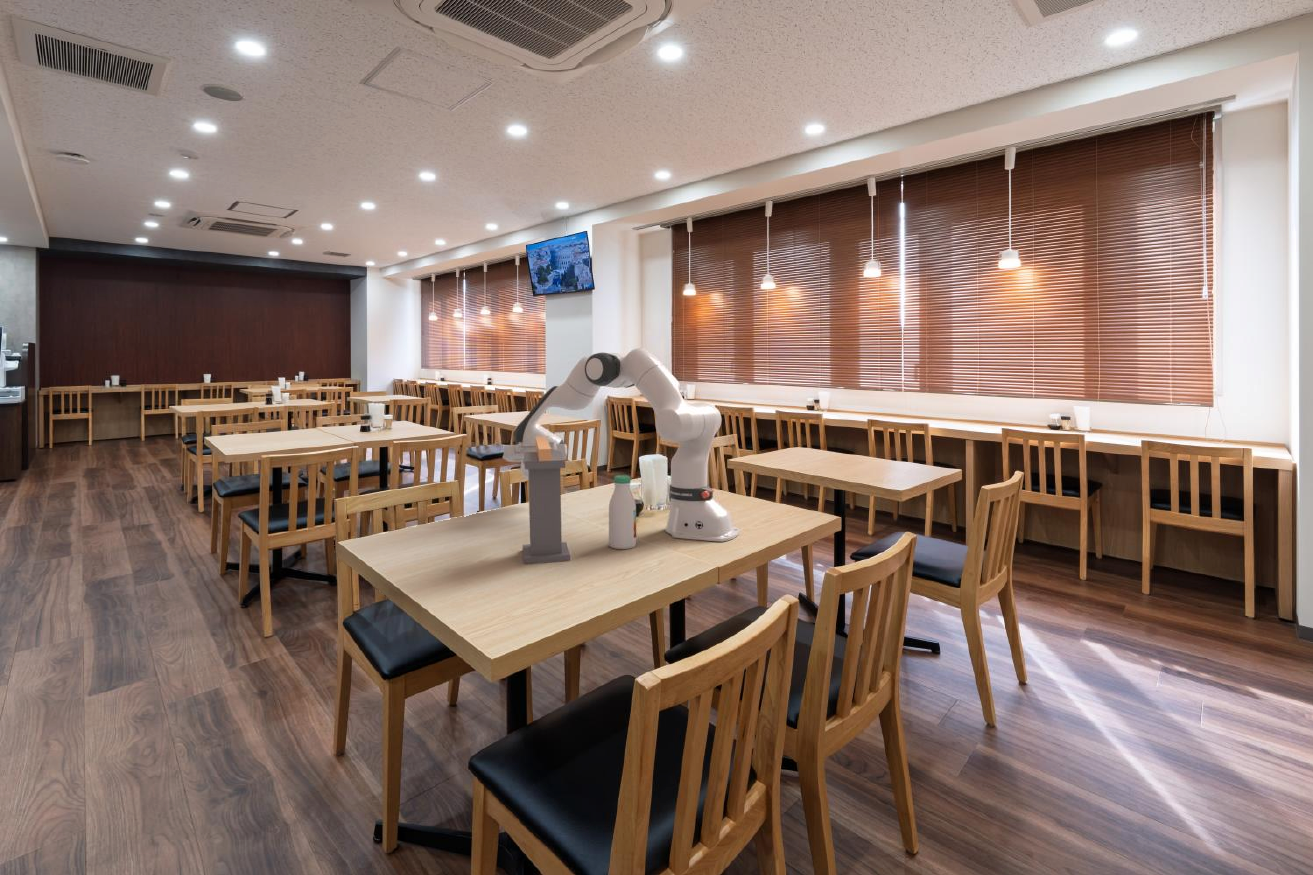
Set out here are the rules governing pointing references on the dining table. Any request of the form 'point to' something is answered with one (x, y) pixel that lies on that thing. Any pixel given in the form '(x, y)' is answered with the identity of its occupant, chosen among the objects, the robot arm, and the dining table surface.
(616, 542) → the milk bottle
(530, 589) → the dining table surface
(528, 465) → the stand
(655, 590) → the dining table surface
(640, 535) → the dining table surface
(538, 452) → the bar
